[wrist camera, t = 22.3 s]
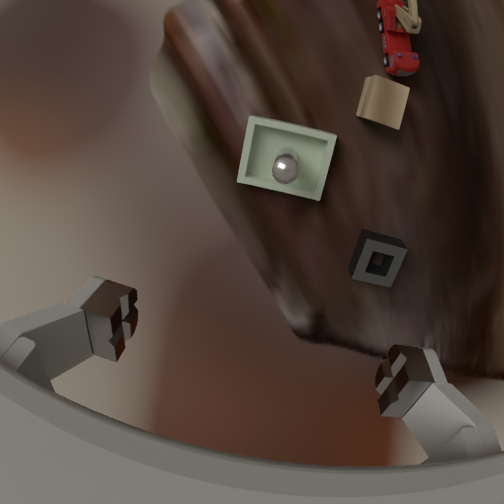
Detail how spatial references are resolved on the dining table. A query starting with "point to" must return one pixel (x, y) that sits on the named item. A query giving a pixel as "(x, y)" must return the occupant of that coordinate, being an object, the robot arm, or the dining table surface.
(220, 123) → the dining table surface
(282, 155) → the pin
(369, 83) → the block
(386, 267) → the socket block
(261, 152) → the tray
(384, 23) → the toy fire truck
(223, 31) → the dining table surface
